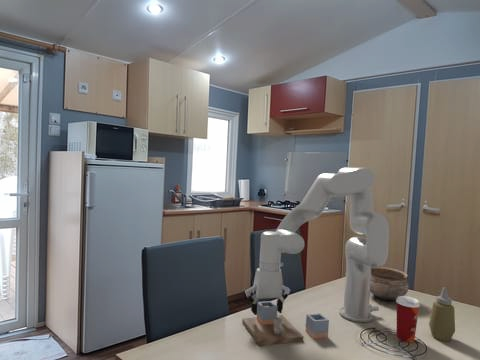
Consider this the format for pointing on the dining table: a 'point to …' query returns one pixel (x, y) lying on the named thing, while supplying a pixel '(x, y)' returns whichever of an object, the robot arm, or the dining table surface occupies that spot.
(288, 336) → the pin board
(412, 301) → the paper cup
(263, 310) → the sleeve
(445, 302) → the squeeze bottle
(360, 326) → the dining table surface
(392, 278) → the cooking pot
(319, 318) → the sleeve
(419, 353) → the dining table surface
